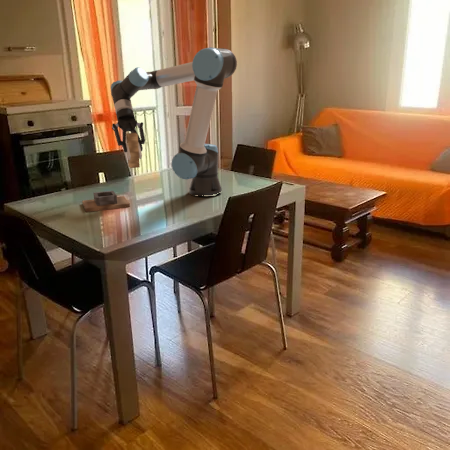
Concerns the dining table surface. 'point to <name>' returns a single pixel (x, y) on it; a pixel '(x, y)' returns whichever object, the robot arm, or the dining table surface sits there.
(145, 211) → the dining table surface
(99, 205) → the post base
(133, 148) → the tan tall block
